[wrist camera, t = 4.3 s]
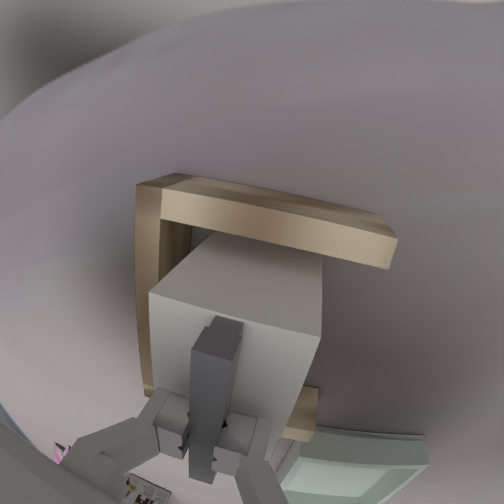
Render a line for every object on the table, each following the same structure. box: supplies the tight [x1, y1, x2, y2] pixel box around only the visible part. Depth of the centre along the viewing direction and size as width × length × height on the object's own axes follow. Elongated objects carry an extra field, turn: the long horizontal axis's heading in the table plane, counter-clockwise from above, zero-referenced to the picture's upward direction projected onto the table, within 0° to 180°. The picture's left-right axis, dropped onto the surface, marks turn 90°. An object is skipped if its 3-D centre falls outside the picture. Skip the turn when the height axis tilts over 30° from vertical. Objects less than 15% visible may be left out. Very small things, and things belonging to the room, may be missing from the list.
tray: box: [275, 425, 430, 504], centre depth 19 cm, size 10×12×3 cm
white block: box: [149, 230, 322, 484], centre depth 12 cm, size 5×8×9 cm, turn 171°
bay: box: [135, 173, 398, 442], centre depth 14 cm, size 10×12×4 cm
